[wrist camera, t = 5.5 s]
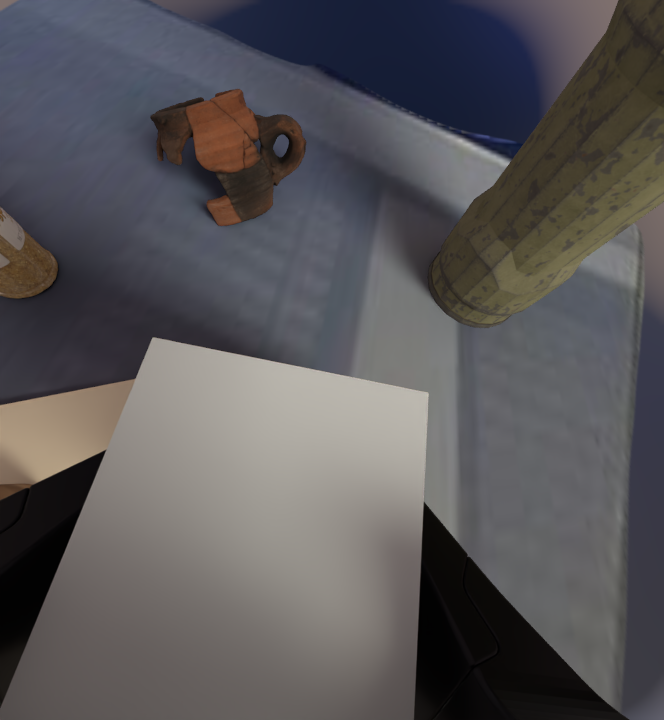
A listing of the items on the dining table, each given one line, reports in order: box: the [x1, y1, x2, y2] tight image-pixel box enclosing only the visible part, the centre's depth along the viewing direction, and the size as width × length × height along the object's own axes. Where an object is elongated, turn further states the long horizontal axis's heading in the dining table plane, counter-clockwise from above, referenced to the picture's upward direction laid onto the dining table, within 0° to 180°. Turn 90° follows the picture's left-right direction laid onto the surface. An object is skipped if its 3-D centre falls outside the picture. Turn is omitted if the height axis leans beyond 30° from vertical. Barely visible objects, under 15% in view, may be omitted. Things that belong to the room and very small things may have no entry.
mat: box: [0, 379, 135, 485], centre depth 18 cm, size 14×14×1 cm
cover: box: [0, 337, 428, 720], centre depth 10 cm, size 9×9×12 cm
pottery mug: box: [150, 89, 306, 226], centre depth 27 cm, size 12×10×8 cm
